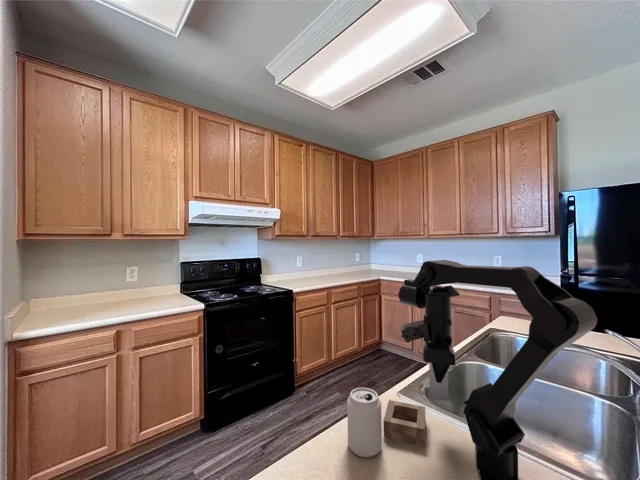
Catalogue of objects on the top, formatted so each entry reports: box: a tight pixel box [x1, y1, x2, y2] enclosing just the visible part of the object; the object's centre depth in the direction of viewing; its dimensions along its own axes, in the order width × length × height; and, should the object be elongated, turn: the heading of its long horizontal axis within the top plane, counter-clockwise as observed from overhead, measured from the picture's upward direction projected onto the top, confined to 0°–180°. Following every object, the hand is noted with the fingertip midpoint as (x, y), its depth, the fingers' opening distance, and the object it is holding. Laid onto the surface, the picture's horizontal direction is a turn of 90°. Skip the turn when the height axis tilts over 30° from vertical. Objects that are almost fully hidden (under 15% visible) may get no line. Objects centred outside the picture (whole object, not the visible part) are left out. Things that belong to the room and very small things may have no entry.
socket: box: [383, 399, 427, 448], centre depth 69 cm, size 9×9×4 cm
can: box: [346, 387, 383, 458], centre depth 63 cm, size 8×8×12 cm
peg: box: [428, 362, 449, 402], centre depth 68 cm, size 4×4×10 cm
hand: (438, 378), depth 68 cm, fingers closed on peg, 4 cm apart
